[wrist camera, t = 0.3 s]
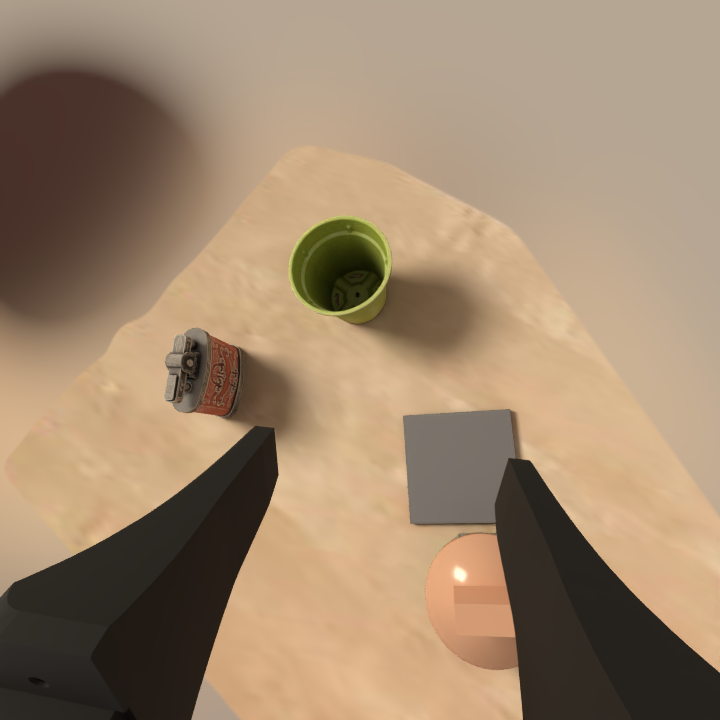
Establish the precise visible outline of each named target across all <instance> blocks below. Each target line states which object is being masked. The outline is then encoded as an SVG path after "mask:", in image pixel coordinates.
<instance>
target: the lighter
mask: <svg viewBox="0 0 720 720" xmlns="http://www.w3.org/2000/svg"><path fill="white" fill-rule="evenodd" d="M165 363H166V366H167V368H168V370H169V372H168V378H167V384H166V390H165V396H164V399H165V401H166V402H170V403H172V404H173V406H174V408H175V409H176V410H177V411H179V412H183V413H192V412H197V413H204V414H211V415H215V416H217V417H221V418H229V417H231V416H233V415H234V414H235V412H236V410H237V407H238V404H239V401H240V398H241V393H242V388H243V383H244V369H245V366H244V353H243V351H242V349H241V348H239V347H237V346H235V345H232V344H227V343H225V342H223V341H221V340H219V339H217V338H215V337H213V336H210V335H209V333H208V332H206V331H204V330H202V329H200V328H192V329H190V330H188V331H187V332H186V333H185V334H184V335H183V334H178V335H176V336H175V338H174V342H173V348H172V352H170V353H169V354H168V355H167V356H166V361H165Z"/></svg>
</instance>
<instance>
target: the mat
mask: <svg viewBox="0 0 720 720" xmlns="http://www.w3.org/2000/svg"><path fill="white" fill-rule="evenodd" d="M403 421H404V435H405V450H406V465H407V480H408V495H409V510H410V524H430V523H496V520H495V505H494V504H495V501H496V498H497V494H498V491H499V488H500V485H501V481H502V478H503V475H504V471H505V468H506V465H507V461H508V458H513V459H516V457H515V448H514V440H513V432H512V424H511V416H510V409H505V410H489V411H472V412H456V413H440V414H424V415H408V416H403Z"/></svg>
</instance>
